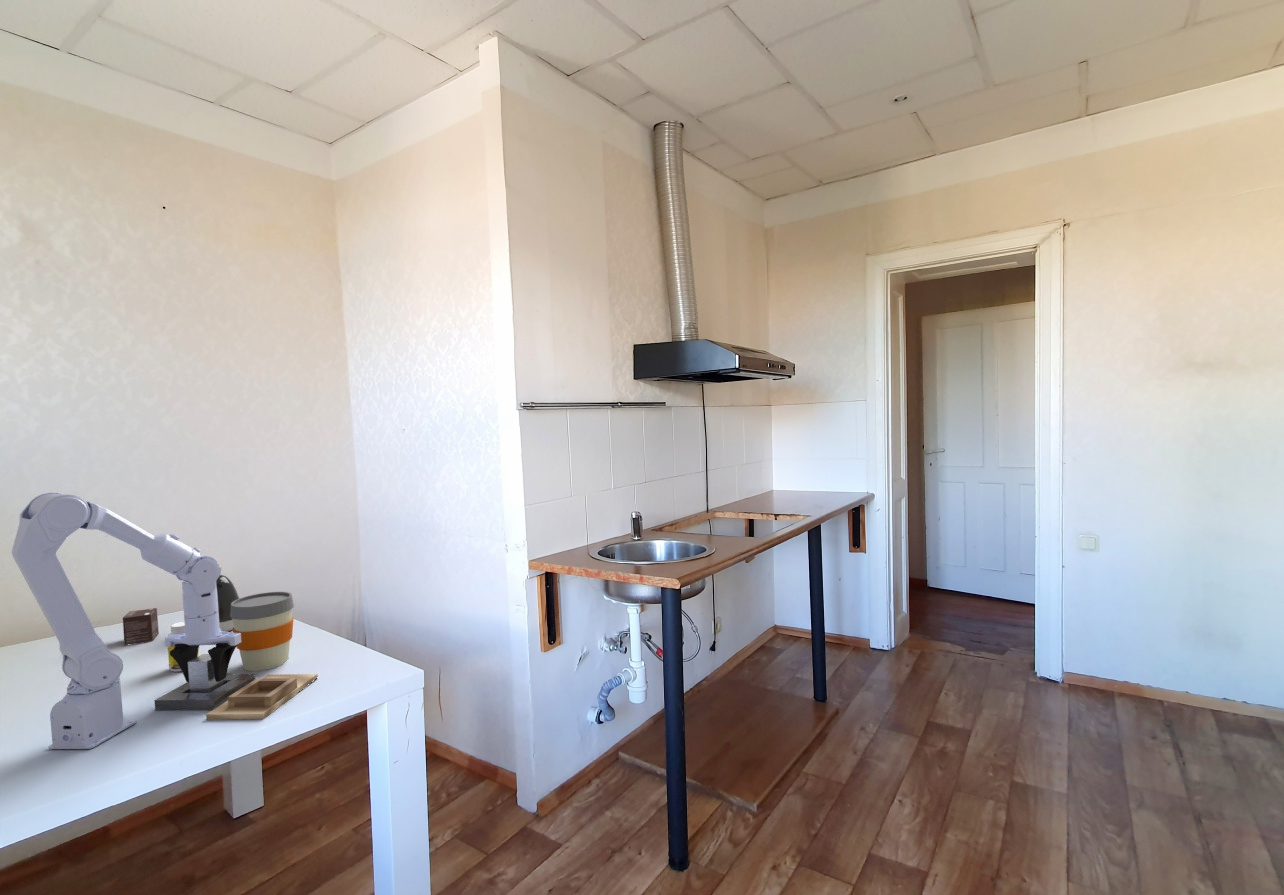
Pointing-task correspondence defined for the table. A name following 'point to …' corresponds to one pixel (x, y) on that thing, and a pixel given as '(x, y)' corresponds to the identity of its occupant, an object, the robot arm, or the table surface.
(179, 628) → the supplement bottle
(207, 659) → the brushed metal block
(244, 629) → the reusable coffee cup
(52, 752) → the table surface
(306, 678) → the rack board
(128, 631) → the box
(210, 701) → the socket
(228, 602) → the dark grey tall dome
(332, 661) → the table surface
